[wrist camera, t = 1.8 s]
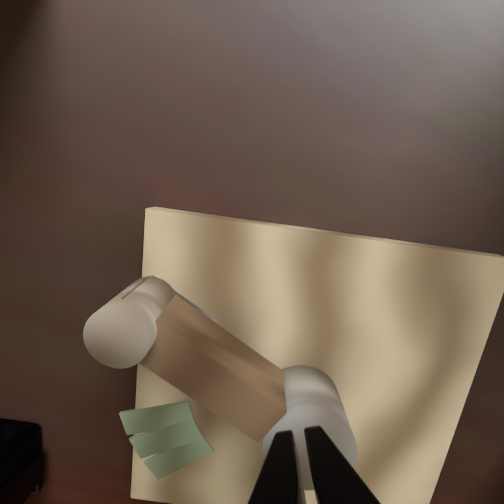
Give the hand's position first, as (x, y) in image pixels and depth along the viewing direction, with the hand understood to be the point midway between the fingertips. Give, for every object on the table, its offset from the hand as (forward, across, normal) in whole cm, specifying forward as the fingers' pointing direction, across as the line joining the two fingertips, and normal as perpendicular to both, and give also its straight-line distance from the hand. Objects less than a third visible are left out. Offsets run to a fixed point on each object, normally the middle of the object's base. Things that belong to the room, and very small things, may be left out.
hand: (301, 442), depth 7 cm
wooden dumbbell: (+11, +3, +4) cm, 12 cm away
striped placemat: (+13, 0, +8) cm, 15 cm away
